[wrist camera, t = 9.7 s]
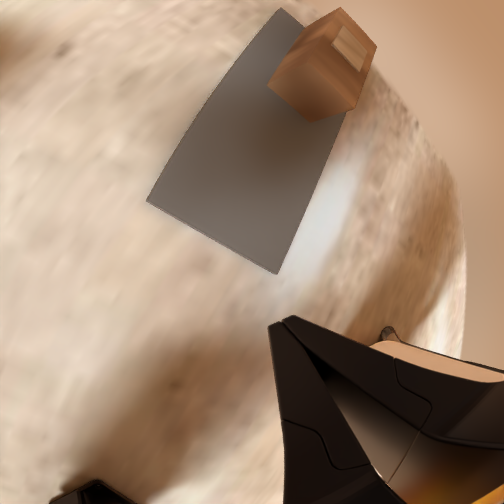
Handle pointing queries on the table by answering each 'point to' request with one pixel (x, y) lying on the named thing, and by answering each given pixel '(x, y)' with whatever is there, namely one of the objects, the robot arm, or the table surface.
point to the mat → (249, 157)
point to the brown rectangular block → (325, 67)
